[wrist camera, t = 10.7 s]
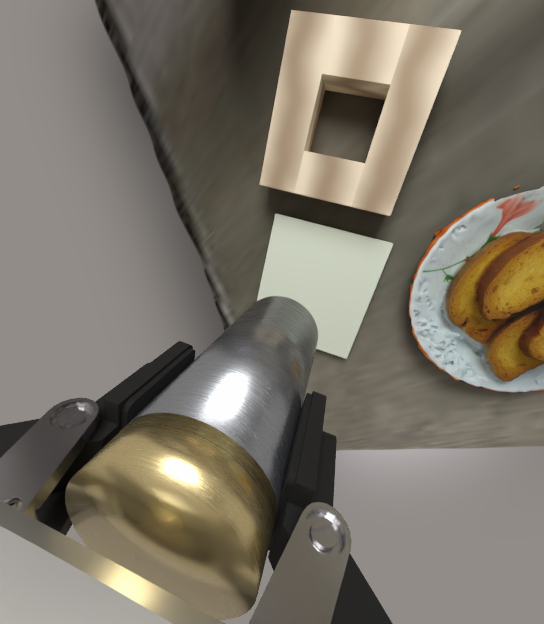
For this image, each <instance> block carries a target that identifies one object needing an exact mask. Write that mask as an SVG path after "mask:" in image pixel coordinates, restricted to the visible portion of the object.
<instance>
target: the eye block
mask: <svg viewBox="0 0 544 624" xmlns="http://www.w3.org/2000/svg"><path fill="white" fill-rule="evenodd" d="M460 33H461V30H454V29H445V28H437V27H429V26H421V25H412V24H404V23H396V22H387V21H379V20H371V19H363V18H354V17H346V16H338V15H329V14H321V13H313V12H304V11H296V10H291V15H290V20H289V26H288V31H287V37H286V42H285V48H284V53H283V59H282V64H281V70H280V75H279V81H278V86H277V92H276V97H275V103H274V108H273V114H272V119H271V125H270V130H269V136H268V141H267V147H266V152H265V158H264V163H263V169H262V174H261V180H260V185H263V186H266V187H269V188H273V189H277V190H282V191H286V192H290V193H294V194H298V195H302V196H307V197H311V198H315V199H319V200H323V201H327V202H332V203H336V204H340V205H344V206H348V207H352V208H357V209H361V210H365V211H369V212H373V213H377V214H382V215H386V216H390V215H391V213H392V210H393V207H394V205H395V202H396V200H397V197H398V194H399V192H400V189H401V187H402V184H403V181H404V179H405V176H406V174H407V171H408V168H409V166H410V163H411V161H412V158H413V155H414V153H415V150H416V148H417V145H418V142H419V140H420V137H421V135H422V132H423V129H424V127H425V124H426V122H427V119H428V116H429V114H430V111H431V109H432V106H433V103H434V101H435V98H436V96H437V93H438V90H439V88H440V85H441V83H442V80H443V77H444V75H445V72H446V70H447V67H448V64H449V62H450V59H451V56H452V54H453V51H454V49H455V46H456V43H457V41H458V38H459V36H460ZM325 90H328V91H334V92H340V93H346V94H352V95H358V96H364V97H369V98H375V99H381V100H385V103H384V106H383V109H382V113H381V116H380V119H379V122H378V125H377V128H376V131H375V134H374V137H373V141H372V144H371V147H370V150H369V153H368V156H367V159H366V162H365V163H360V162H356V161H351V160H346V159H341V158H337V157H332V156H327V155H322V154H318V153H313V152H310V151H311V147H312V143H313V138H314V134H315V130H316V126H317V122H318V118H319V114H320V110H321V106H322V101H323V97H324V93H325Z"/></svg>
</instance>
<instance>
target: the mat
mask: <svg viewBox="0 0 544 624" xmlns="http://www.w3.org/2000/svg"><path fill="white" fill-rule="evenodd" d="M392 246H393V243H390V242H387V241H383V240H379V239H375V238H371V237H367V236H363V235H359V234H355V233H351V232H348V231H344V230H340V229H336V228H332V227H328V226H324V225H320V224H316V223H312V222H308V221H305V220H301V219H297V218H293V217H289V216H285V215H281V214H275V218H274V223H273V228H272V232H271V237H270V242H269V246H268V251H267V256H266V261H265V265H264V270H263V275H262V279H261V284H260V289H259V293H258V298H257V301H258V300H260V299H263V298H266V297H270V296H283V297H287V298H290V299H293V300H295V301H297V302H299V303H300V304H301V305H303V306H304V307H305V308H306V309H307V310H308V311H309V312H310V313H311V315H312V316H313V318H314V320H315V322H316V325H317V329H318V342H317V346H316V349H319V350H322V351H325V352H328V353H330V354H333V355H336V356H339V357H342V358H345V359H347V357H348V355H349V352H350V350H351V347H352V345H353V342H354V340H355V337H356V335H357V332H358V330H359V327H360V325H361V322H362V320H363V318H364V315H365V313H366V310H367V308H368V305H369V303H370V300H371V298H372V295H373V293H374V290H375V288H376V286H377V283H378V281H379V278H380V276H381V273H382V271H383V268H384V266H385V263H386V261H387V258H388V256H389V253H390V251H391V249H392Z"/></svg>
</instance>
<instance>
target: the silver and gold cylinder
mask: <svg viewBox="0 0 544 624" xmlns="http://www.w3.org/2000/svg"><path fill="white" fill-rule="evenodd" d="M317 342H318V329H317V325H316V322H315V320H314V318H313V316H312V315H311V313H310V312H309V311H308V310H307V309H306V308H305V307H304V306H303V305H301V304H300V303H299V302H297V301H295V300H293V299H290V298H287V297H283V296H270V297H266V298H263V299H260V300H258V301H257V302H255V303H254V304H253V305H252V306H251V307H250V308H248V309H247V310H246V311H245V312H244V313H243V314H242V315H241V316H240V317H239V318H238V319H237V320H236V321H235V322H234V323H233V324H232V325H231V326H230V327H229V328H228V329H227V330H225V331H224V333H222V334H221V335H220V336H219V337H218V338H217V339H216V340H215V341H214V342H213V343H212V344H211V345H210V346H209V347H208V348H207V349H206V350H205V351H204V352H203V353H201V354H200V355H199V356H198V357H197V358H196V359H195V360H194V361H193V362H192V363H191V364H190V365H189V366H188V367H187V368H186V369H185V370H184V371H183V372H182V373H181V374H180V375H178V376H177V377H176V378H175V379H174V380H173V381H172V382H171V383H170V384H169V385H168V386H167V387H166V388H165V389H164V390H163V391H162V392H161V393H160V394H159V395H158V396H157V397H155V398H154V399H153V400H152V401H151V402H150V403H149V404H148V405H147V406H146V407H145V408H144V409H143V410H142V411H141V412H140V413H139V414H138V415H137V416H136V417H135V418H134V419H133V420H131V421H130V422H129V423H128V424H127V425H126V426H125V427H124V428H123V429H122V430H121V431H120V432H119V433H118V434H117V435H116V436H115V437H114V438H113V439H112V440H111V441H110V442H108V443H107V444H106V445H105V446H104V447H103V448H102V449H101V450H100V451H99V452H98V453H97V454H96V455H95V456H94V457H93V458H92V459H91V460H90V461H89V462H88V463H87V464H85V465H84V466H83V467H82V468H81V469H80V470H79V471H78V472H77V473H76V474H75V475H74V476H73V477H72V478H71V480H70V481H69V482H68V485H67V487H66V492H65V504H66V508H67V512H68V515H69V517H70V520H71V522H72V524H73V526H74V528H75V530H76V531H77V533H78V534H79V536H80V538H81V539H82V540H83V542H84V543H85V544H86V546H87V547H88V548H89V549H91V550H93V551H95V552H96V553H98V554H100V555H102V556H104V557H105V558H107V559H109V560H111V561H113V562H115V563H116V564H118V565H120V566H122V567H124V568H126V569H127V570H129V571H131V572H133V573H135V574H136V575H138V576H140V577H142V578H144V579H146V580H147V581H149V582H151V583H153V584H155V585H156V586H158V587H160V588H162V589H164V590H165V591H167V592H169V593H171V594H173V595H174V596H176V597H178V598H180V599H182V600H183V601H185V602H187V603H189V604H191V605H192V606H194V607H196V608H198V609H200V610H201V611H203V612H205V613H207V614H209V615H210V616H212V617H214V618H216V619H218V620H225V619H232V618H236V617H239V616H241V615H243V614H245V613H247V612H248V611H249V610H250V609H251V608H252V606H253V605H254V603H255V601H256V597H257V594H258V590H259V585H260V581H261V577H262V573H263V569H264V564H265V560H266V556H267V552H268V548H269V544H270V539H271V535H272V531H273V527H274V523H275V518H276V514H277V510H278V506H279V499H280V495H281V491H282V486H283V482H284V478H285V474H286V470H287V466H288V462H289V457H290V453H291V449H292V445H293V441H294V437H295V433H296V428H297V424H298V420H299V416H300V412H301V408H302V405H303V401H304V397H305V393H306V388H307V384H308V380H309V376H310V372H311V367H312V363H313V359H314V355H315V351H316V346H317Z"/></svg>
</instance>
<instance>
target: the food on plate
mask: <svg viewBox="0 0 544 624" xmlns="http://www.w3.org/2000/svg"><path fill="white" fill-rule="evenodd" d="M518 187H519V186H517V187H515V188H518ZM543 222H544V187H542V188H540V189H537V190H531V191H526V192H523V193H519V194H515V195H512V196H509V197H506V198H502V199H500V200H497V201H495V202H494V198H491V199H488V200H487V201H486V202H482V203H480V204H479V205H478V206H476V207H474V208H472V209H471V210H469V211H468V212H466V213H464V214H463V215H462V217H461V218H456V219H455V220H454V221H453V222H452V223H451V224H450V225H448V226H447V227H445V228H443V230H439V231H437V232H435V235H436V238H435V239H434V240H433V242H432V243H431V244H430V245H429V247H428V249H427V250H426V253H425V255H424V256H423V258H422V259H421V261H420V263H419V264H418V267H417V272H416V273H415V275H414V277H413V279H414V281H413V285H412V284H411V288H410V299H409V316H410V318H411V325H412V333H413V336H414V337H415V339H416V340H417V342H418V348H419V349H420V350H421V351H422V352H423V354H424V355H425V356H426V357H427V358H428V359H429V360H430V361H431V362H433V363H434V364H435V365H436V366H437V367H438V368H439V369H440V370H443V371H445V372H447V373H448V374H449V375H450V376H451V377H453V378H454V379H455V380H463V381H465V382H467V383H469V384H471V385H473V386H477V387H478V386H482V387H484V388H485V389H492V390H493V391H503V392H518V391H521V392H528V391H537V390H539V391H544V230H542V229H541V228H539V229H535V227H537V226H538V225H540V224H541V223H543ZM533 229H535V230H533ZM532 230H533V231H532Z"/></svg>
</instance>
